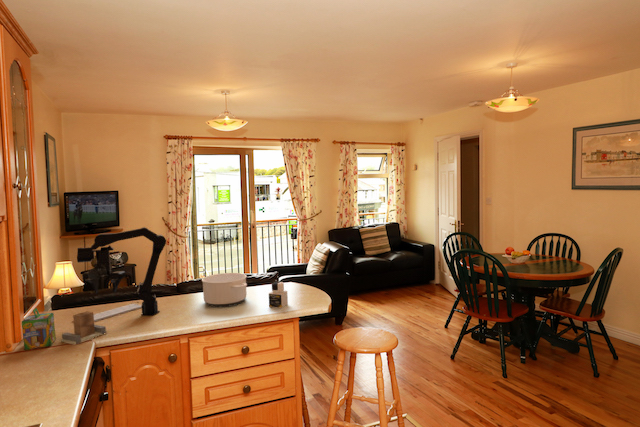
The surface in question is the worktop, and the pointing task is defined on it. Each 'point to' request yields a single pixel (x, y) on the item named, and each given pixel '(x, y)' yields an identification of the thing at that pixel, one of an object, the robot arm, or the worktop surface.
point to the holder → (77, 339)
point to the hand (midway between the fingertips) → (105, 293)
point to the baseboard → (116, 311)
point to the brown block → (84, 324)
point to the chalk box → (38, 330)
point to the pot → (224, 289)
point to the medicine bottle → (278, 295)
